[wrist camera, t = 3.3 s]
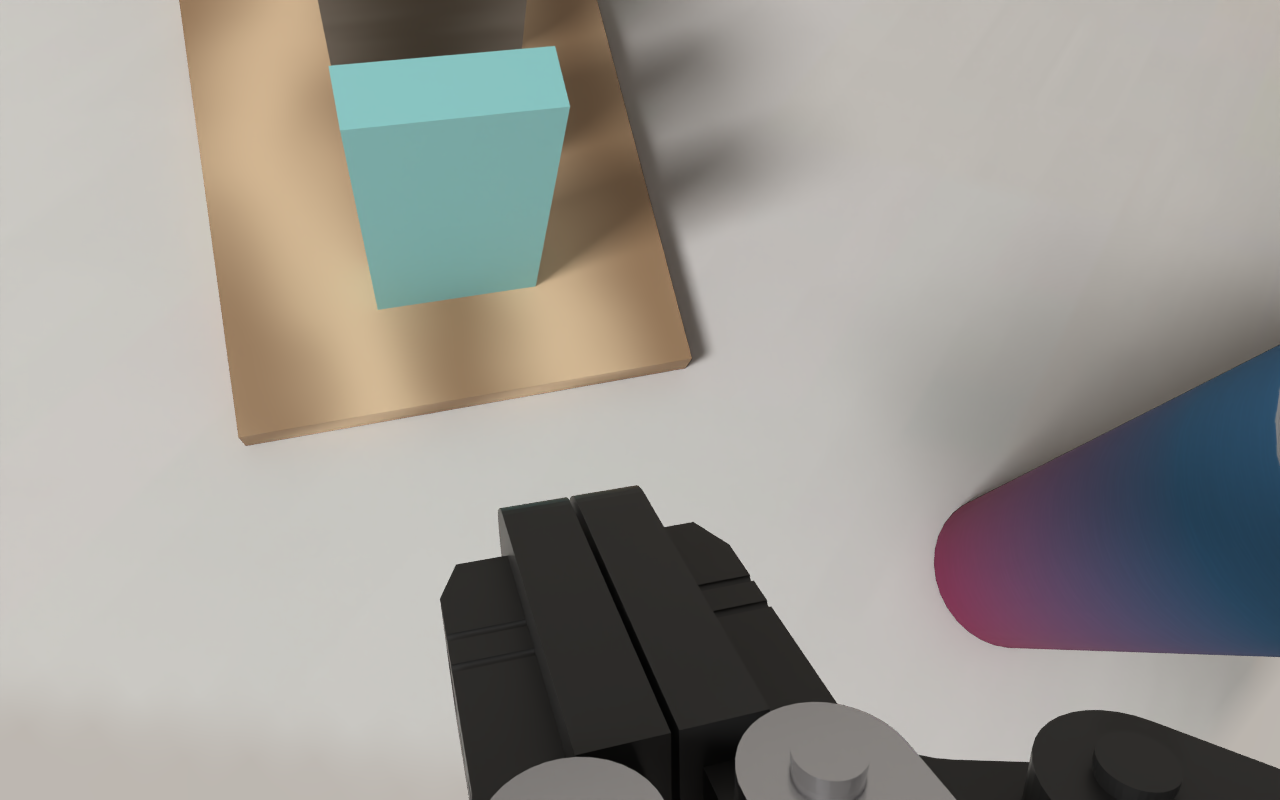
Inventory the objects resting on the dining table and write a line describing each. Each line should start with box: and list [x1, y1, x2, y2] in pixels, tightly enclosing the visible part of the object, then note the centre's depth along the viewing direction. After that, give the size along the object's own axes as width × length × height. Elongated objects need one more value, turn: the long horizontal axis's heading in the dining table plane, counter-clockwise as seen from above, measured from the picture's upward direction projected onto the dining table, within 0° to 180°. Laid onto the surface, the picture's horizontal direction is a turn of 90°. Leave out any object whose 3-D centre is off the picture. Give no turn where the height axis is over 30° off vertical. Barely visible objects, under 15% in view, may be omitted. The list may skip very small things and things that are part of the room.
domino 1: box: [318, 0, 527, 66], centre depth 27 cm, size 5×2×10 cm, turn 103°
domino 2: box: [329, 46, 570, 310], centre depth 25 cm, size 5×2×10 cm, turn 103°
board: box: [179, 0, 692, 446], centre depth 33 cm, size 14×25×1 cm, turn 13°
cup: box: [934, 345, 1280, 657], centre depth 25 cm, size 7×7×15 cm
